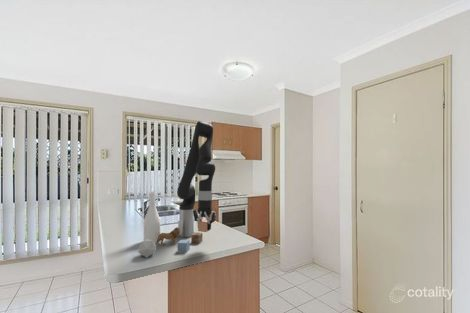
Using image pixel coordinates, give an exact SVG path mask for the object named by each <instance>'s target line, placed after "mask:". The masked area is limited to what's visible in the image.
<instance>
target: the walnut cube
mask: <svg viewBox="0 0 470 313" xmlns="http://www.w3.org/2000/svg"><path fill="white" fill-rule="evenodd" d="M190 237H191V238H190V239H191V244H197V245H199V244H201V243H202V242H203V232H194V233H193V234H192V235H191V236H190Z"/></svg>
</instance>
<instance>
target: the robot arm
mask: <svg viewBox="0 0 470 313" xmlns="http://www.w3.org/2000/svg"><path fill="white" fill-rule="evenodd" d="M213 136H214V127H213V125H212V124H210V123H208V122H204V121H201V120H198V121H197V123H195V127H194V130H193V136H192V140H191V146H190V149H189V152H188V154H187V158H186V162H185V166H184V170H183V174H182V176H181V180H180V182H179V184H178V186H177V190H176V191H177V192H176V194H177V197H178V198H179V199H180V200H182V202H181V203H180V204H179V220H178V221H177V227H178V228H180V235H179V236H178V237H180V238H189V237H191V235H192V234H193V233H195V232H194V230H195V228H194V226H195V225H194V223H195V222H197V223H198V222H199V221H201V220H203V218H205V219H206V220H207V222H208V227H207V230H208V231H207V232H210V231H211V229H212V224H213V223H215V221H216V217H217V214H218V213H217V211H213V210H212V209H213V208H212V206H213V204H212V203H213V195H212V194H213V190H212V184H213V178H214V175H215V171H216V166H215V164H214V163H213V162H212V145H213V144H212V143H213ZM200 137H202V138H206V140H205V141H204V142H203V143H202V145H201V146H200V143H199V140H200ZM195 175H198V176H208V177H207V178H205V179H200V180H199V182H198V196H197V198H198V199H197V209H194V208H195V204H196V187H195V186H194V185H193V184H192V181H193V179H194V177H195Z"/></svg>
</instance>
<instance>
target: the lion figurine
mask: <svg viewBox="0 0 470 313" xmlns="http://www.w3.org/2000/svg"><path fill="white" fill-rule="evenodd" d="M179 235H180V228H178V226H177V227H174V229H173V230H171V231H170V232H168V233H166V232H160V234H159V236H158V239H159V240H158V239H157V243H155V244H156V245H160V244H161V246H162V247H163V246H165V244H164V243H163V242H164V239H165V240H169V241H170V240H171V244H172V245H176V243H175V240H176V239H178V237H180V236H179ZM159 237H160V238H159Z"/></svg>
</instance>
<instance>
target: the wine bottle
mask: <svg viewBox="0 0 470 313" xmlns="http://www.w3.org/2000/svg"><path fill="white" fill-rule="evenodd" d="M156 194H157V193H156V191H154V190H153V191H152V190H151V191H149V194H148V195H149V204H148V208H147V211H146V214H145V217H144V220H143V221H144V222H143V241H144V240H146V239H150V240H152V241H153V242H154V243H155V244H156V243H157V239H158V236H159V234H161V218H160V216H159V212H158V210H157V206H156ZM159 238H160V237H159ZM158 240H159V239H158Z"/></svg>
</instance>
